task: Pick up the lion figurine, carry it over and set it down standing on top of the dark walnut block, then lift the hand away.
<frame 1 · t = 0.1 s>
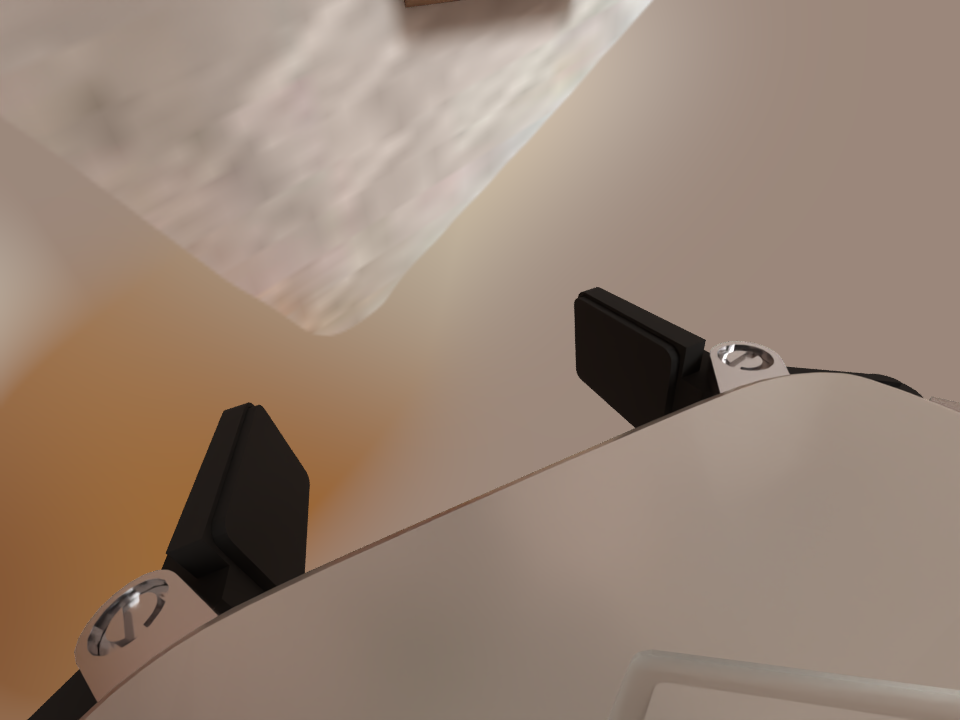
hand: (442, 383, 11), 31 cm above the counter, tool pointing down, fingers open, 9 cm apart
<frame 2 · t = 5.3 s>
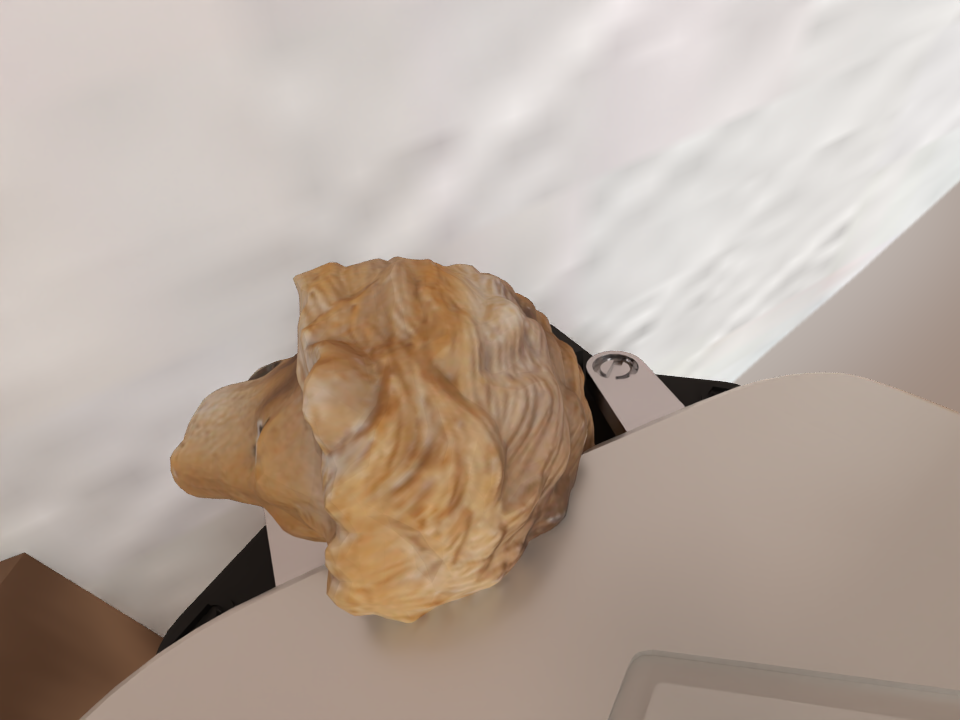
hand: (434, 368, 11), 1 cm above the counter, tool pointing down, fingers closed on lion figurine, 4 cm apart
lion figurine: (438, 386, 13), on the counter, touching gripper
when the fingers open (7 cm above the counter, at t = 10.9 s): lion figurine drops 2 cm, resting on walnut block.
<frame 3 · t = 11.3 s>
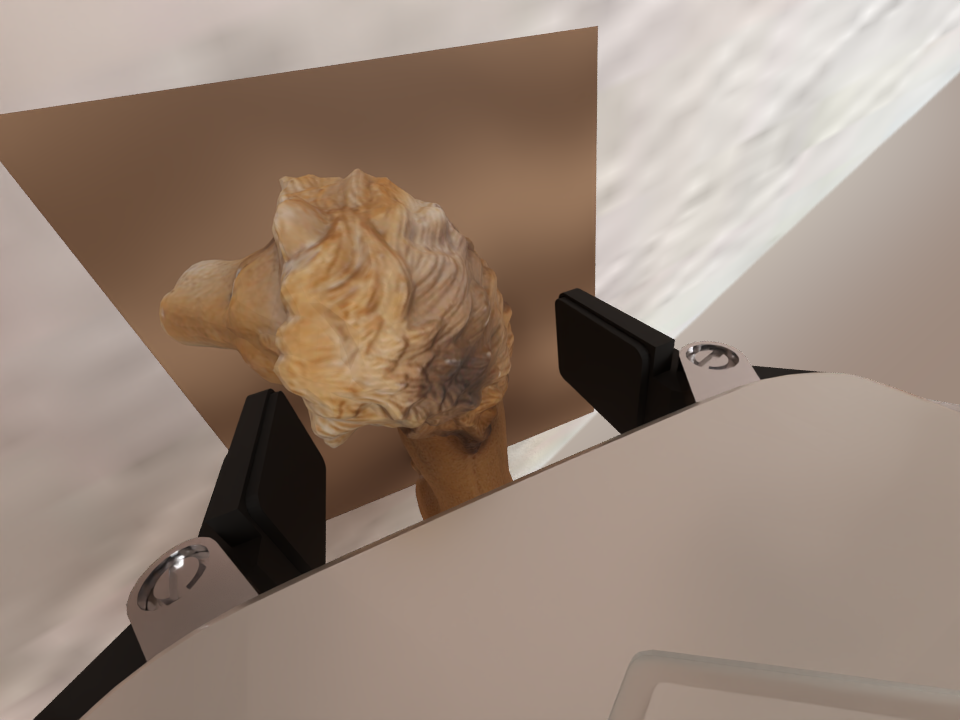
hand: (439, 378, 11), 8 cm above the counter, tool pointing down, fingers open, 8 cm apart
lion figurine: (402, 351, 14), point 4 cm above the counter, touching walnut block
walnut block: (396, 289, 18), on the counter, touching lion figurine
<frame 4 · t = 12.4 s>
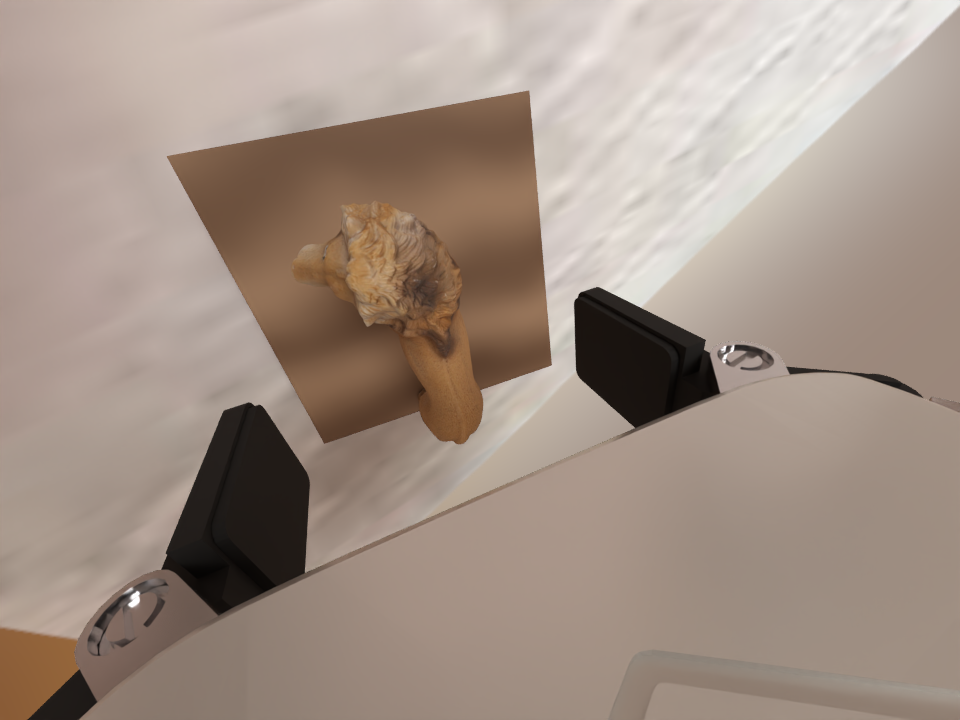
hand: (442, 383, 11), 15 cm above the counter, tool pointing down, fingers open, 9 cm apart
lion figurine: (408, 314, 21), point 4 cm above the counter, touching walnut block
walnut block: (401, 269, 24), on the counter, touching lion figurine
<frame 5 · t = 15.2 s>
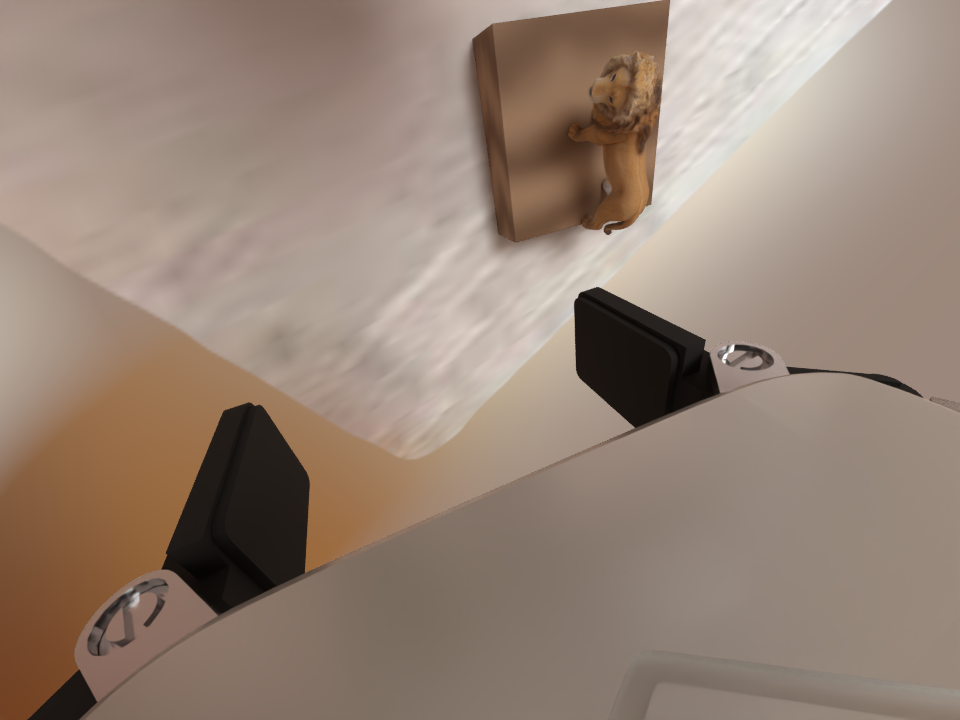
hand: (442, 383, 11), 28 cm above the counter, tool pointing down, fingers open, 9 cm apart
lion figurine: (583, 158, 34), point 4 cm above the counter, touching walnut block
walnut block: (557, 133, 36), on the counter, touching lion figurine
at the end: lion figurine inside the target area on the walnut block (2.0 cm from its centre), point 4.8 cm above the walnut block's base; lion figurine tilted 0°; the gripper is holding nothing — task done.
